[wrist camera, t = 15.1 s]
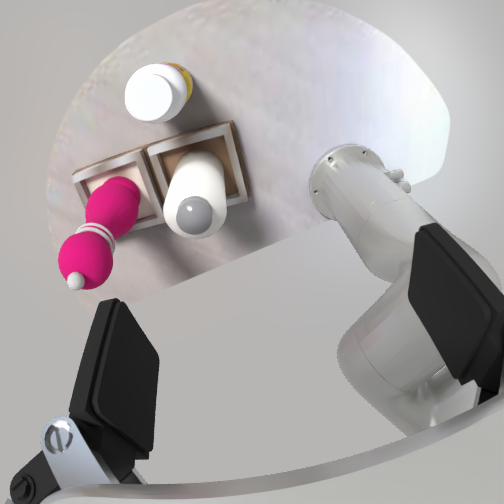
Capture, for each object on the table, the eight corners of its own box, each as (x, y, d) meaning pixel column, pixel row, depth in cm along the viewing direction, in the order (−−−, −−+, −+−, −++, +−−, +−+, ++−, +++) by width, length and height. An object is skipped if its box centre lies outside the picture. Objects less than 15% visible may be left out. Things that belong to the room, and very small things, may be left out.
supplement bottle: (196, 63, 36) (188, 65, 25) (190, 111, 39) (180, 133, 29) (145, 61, 34) (117, 64, 24) (141, 108, 38) (113, 130, 28)
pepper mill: (151, 210, 45) (121, 308, 29) (108, 223, 45) (64, 319, 29) (134, 165, 41) (85, 246, 24) (89, 181, 41) (27, 265, 25)
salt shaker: (216, 142, 41) (217, 180, 30) (228, 186, 45) (234, 238, 33) (169, 156, 41) (151, 198, 30) (183, 198, 45) (173, 253, 34)
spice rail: (232, 120, 41) (233, 124, 38) (250, 191, 47) (252, 200, 44) (76, 170, 41) (68, 178, 39) (103, 231, 48) (98, 241, 45)
